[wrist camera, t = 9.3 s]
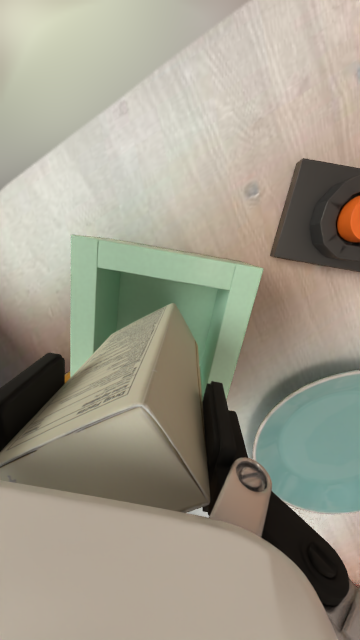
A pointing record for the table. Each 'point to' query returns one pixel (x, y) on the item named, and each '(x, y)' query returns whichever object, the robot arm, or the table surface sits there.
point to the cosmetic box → (123, 423)
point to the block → (318, 216)
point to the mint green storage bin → (160, 298)
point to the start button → (350, 221)
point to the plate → (315, 446)
